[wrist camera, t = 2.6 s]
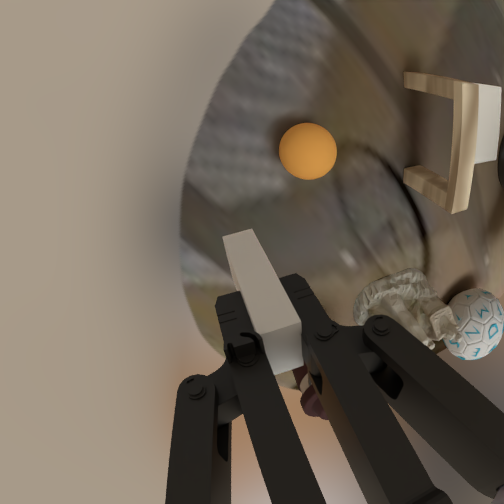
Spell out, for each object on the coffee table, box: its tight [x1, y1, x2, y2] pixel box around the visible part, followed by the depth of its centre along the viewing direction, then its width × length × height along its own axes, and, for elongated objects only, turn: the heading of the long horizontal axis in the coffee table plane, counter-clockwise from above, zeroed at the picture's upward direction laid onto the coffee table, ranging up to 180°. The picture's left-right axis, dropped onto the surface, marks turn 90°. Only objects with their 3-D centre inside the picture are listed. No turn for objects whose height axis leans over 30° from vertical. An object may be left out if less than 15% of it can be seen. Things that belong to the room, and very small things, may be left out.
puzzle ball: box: [443, 288, 504, 360], centre depth 51 cm, size 15×15×15 cm
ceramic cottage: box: [354, 268, 462, 349], centre depth 44 cm, size 16×16×15 cm
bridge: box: [403, 72, 479, 214], centre depth 28 cm, size 3×14×9 cm, turn 9°
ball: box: [279, 123, 337, 180], centre depth 28 cm, size 6×6×6 cm
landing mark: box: [474, 83, 501, 164], centre depth 34 cm, size 13×13×1 cm
